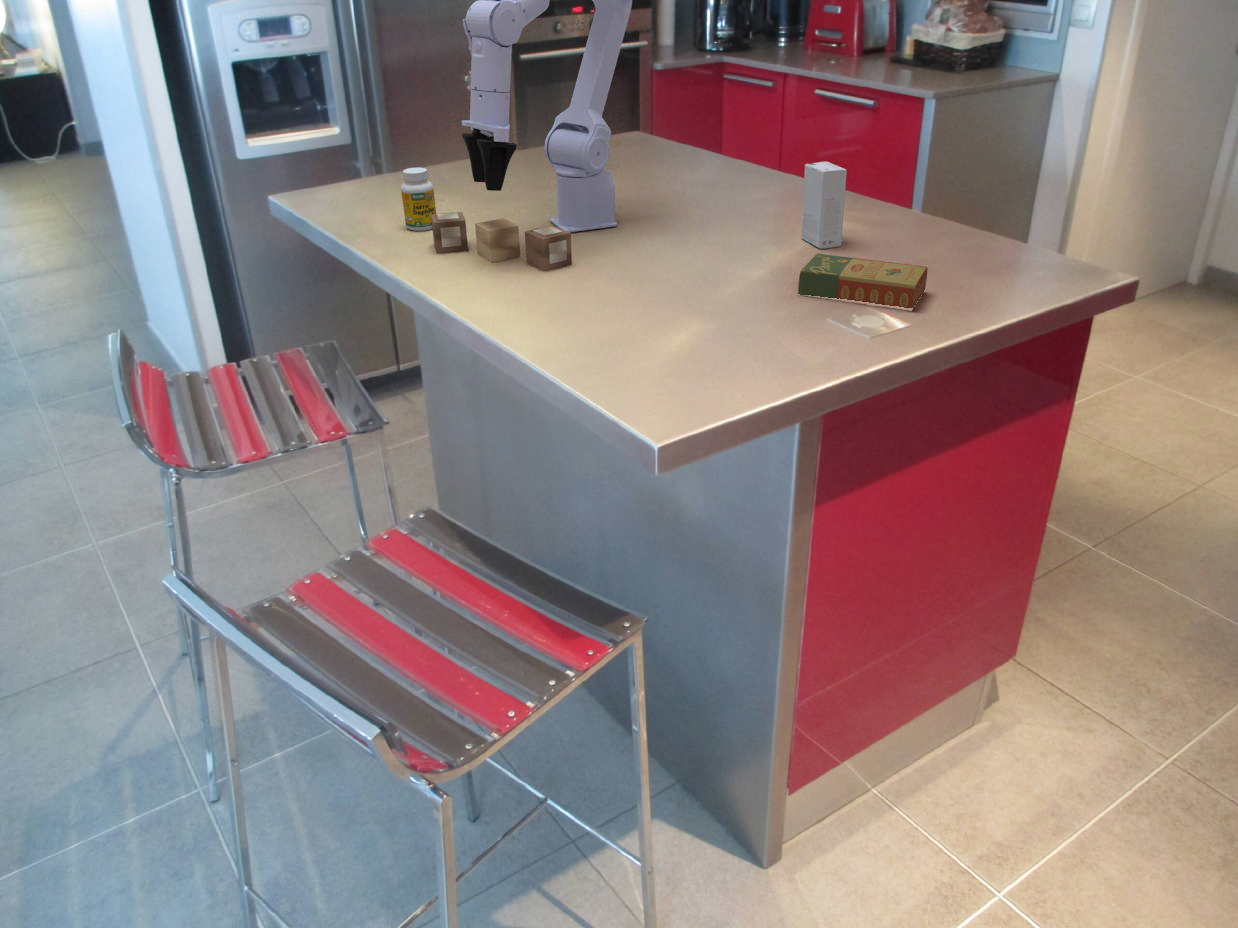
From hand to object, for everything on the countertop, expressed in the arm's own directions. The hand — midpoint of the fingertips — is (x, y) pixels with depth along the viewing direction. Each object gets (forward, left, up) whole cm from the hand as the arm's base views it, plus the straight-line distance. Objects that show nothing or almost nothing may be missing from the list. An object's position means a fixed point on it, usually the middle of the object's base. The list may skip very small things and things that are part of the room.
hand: (487, 186), depth 149 cm
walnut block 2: (-7, +8, -11) cm, 15 cm away
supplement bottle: (+7, -19, -11) cm, 23 cm away
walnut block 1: (+5, -6, -11) cm, 14 cm away
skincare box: (-50, +16, -11) cm, 53 cm away
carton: (-43, +38, -11) cm, 58 cm away
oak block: (-1, +1, -11) cm, 11 cm away
